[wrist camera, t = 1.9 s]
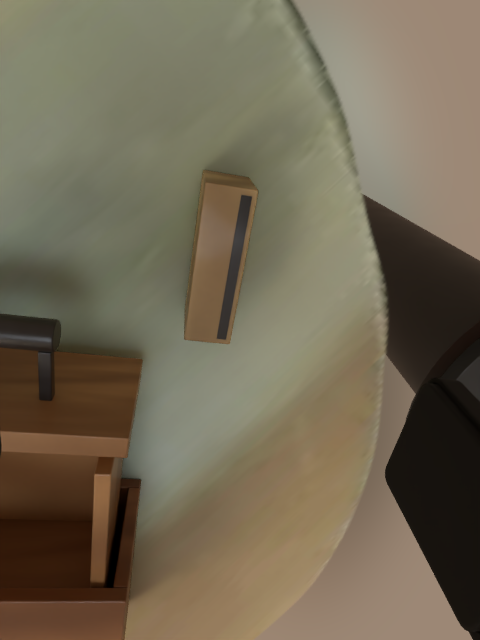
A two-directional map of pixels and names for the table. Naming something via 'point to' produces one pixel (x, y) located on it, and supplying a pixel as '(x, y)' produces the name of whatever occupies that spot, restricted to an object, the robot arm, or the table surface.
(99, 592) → the cabinet
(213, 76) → the table surface
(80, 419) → the drawer
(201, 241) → the tan block with strip
